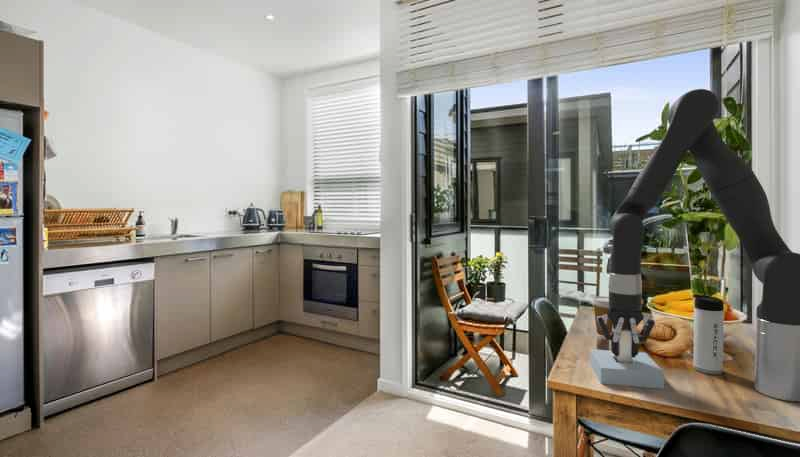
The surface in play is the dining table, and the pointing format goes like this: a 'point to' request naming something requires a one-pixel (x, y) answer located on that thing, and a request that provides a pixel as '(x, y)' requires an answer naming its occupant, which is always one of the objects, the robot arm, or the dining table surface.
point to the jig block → (626, 370)
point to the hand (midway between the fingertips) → (624, 355)
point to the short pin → (602, 343)
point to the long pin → (625, 347)
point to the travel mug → (708, 334)
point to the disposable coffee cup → (602, 312)
